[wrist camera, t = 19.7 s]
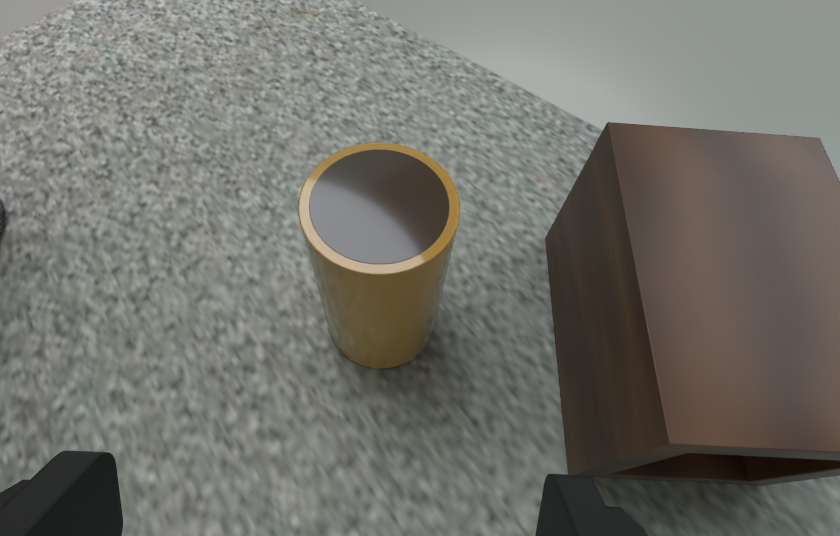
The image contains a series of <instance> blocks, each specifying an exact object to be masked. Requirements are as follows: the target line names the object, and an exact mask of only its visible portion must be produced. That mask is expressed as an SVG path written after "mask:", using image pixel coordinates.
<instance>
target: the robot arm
mask: <svg viewBox="0 0 840 536" xmlns="http://www.w3.org/2000/svg"><path fill="white" fill-rule="evenodd" d="M3 224H4V209H3V205H2V202H1V200H0V235H1V232H2V229H3ZM122 528H123V516H122V508H121V501H120V493H119V485H118V477H117V469H116V462H115V459H114V457H113V455H112V454H111V453H108V452H87V451H63V452H61V453H59V454H57V455H56V456H55V457H54V458H53V459H52V460H51V461H50V462H49V463H48V464H46V465H45V466H44V467H43V468H42V469H41V470H40V471H39V472H38V473H37V474H36V475H35V476H34V477H33V478H32V479H31V480H22V481H20V482H18V483H17V484H15V485H13V486H12V487H10V488H8V489H6V490H5V491H3V492H1V493H0V536H121V534H122ZM536 536H648V535H647V533H646V532H645V530H644V529H643V528H642V527H641V526H640V525H639V524H638V523H637V522H636V521H635V520H633V519H632V518H631V517H630V516H629V515H628V514H627V513H626V512H625V511H624V510H623V509H622V508H621V507H610V506H606V505H605V503H604V501H603V499H602V497H601V495H600V493H599V491H598V489H597V487H596V485H595V483H594V482H593V480H592V479H591V477H589V476H585V475H563V474H548V475H547V477H546V479H545V483H544V488H543V494H542V500H541V506H540V512H539V518H538V524H537V530H536Z"/></svg>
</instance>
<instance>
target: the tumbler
mask: <svg viewBox="0 0 840 536" xmlns="http://www.w3.org/2000/svg"><path fill="white" fill-rule="evenodd" d="M298 215H299V220H300V225H301V229H302V232H303V236H304V239H305V243H306V247H307V250H308V254H309V258H310V261H311V265H312V268H313V272H314V276H315V279H316V283H317V287H318V290H319V294H320V297H321V301H322V305H323V308H324V312H325V316H326V319H327V323H328V326H329V330H330V333H331V336H332V339H333V341H334V342H335V344H336V346H337V347H338V349H339V350H340V351H341V352H342V353H343V354H344V355H345V356H346V357H348V358H349V359H350V360H352V361H354V362H356V363H358V364H360V365H363V366H366V367H370V368H377V369H385V368H392V367H396V366H400V365H402V364H405V363H407V362H408V361H410V360H412V359H413V358H415V357H416V356H417V355H418V354H419V353H420V352H421V351H422V350H423V349H424V348H425V347H426V345H427V344H428V342H429V340H430V338H431V336H432V333H433V329H434V325H435V321H436V316H437V312H438V308H439V303H440V299H441V295H442V291H443V286H444V282H445V278H446V273H447V269H448V265H449V261H450V256H451V252H452V248H453V243H454V239H455V235H456V231H457V226H458V222H459V216H460V202H459V197H458V193H457V190H456V188H455V185H454V183H453V182H452V180H451V178H450V177H449V175H448V174H447V173H446V171H445V170H444V169H443V168H442V167H441V166H440V165H439V164H438V163H437V162H435V161H434V160H433V159H431V158H430V157H428V156H427V155H425V154H423V153H421V152H419V151H417V150H415V149H412V148H409V147H406V146H403V145H398V144H392V143H377V142H376V143H365V144H359V145H355V146H351V147H348V148H345V149H343V150H340V151H338V152H336V153H334V154H333V155H331V156H329V157H328V158H326V159H325V160H323V161H322V162H321V163H320V164H319V165H318V166H317V167H316V168H315V169H314V170H313V171H312V172H311V173H310V175H309V176H308V178H307V180H306V181H305V183H304V185H303V188H302V190H301V193H300V197H299V204H298Z"/></svg>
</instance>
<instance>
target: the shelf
mask: <svg viewBox="0 0 840 536" xmlns="http://www.w3.org/2000/svg"><path fill="white" fill-rule="evenodd" d="M546 249H547V259H548V269H549V280H550V290H551V300H552V310H553V321H554V331H555V341H556V351H557V362H558V372H559V382H560V392H561V403H562V413H563V423H564V434H565V444H566V454H567V464H568V474H569V475H585V476H589V477H599V478H618V479H639V480H660V481H681V482H701V483H722V484H744V485H770V484H778V483H786V482H793V481H801V480H809V479H817V478H825V477H832V476H840V181H839V179H838V177H837V175H836V173H835V170H834V168H833V166H832V164H831V162H830V160H829V157H828V155H827V153H826V151H825V149H824V147H823V144H822V142H821V140H820V138H813V137H799V136H786V135H773V134H758V133H746V132H745V133H744V132H733V131H718V130H706V129H692V128H679V127H664V126H652V125H651V126H650V125H637V124H624V123H610V122H608V123H607V124H606V126H605V128H604V130H603V131H602V133H601V135H600V137H599V139H598V141H597V143H596V146H595V147H594V149H593V151H592V152H591V154H590V156H589V158H588V160H587V162H586V164H585V165H584V167H583V169H582V171H581V173H580V175H579V177H578V178H577V180H576V182H575V184H574V186H573V188H572V190H571V191H570V193H569V195H568V197H567V199H566V201H565V202H564V204H563V206H562V208H561V210H560V212H559V214H558V215H557V217H556V219H555V221H554V223H553V225H552V227H551V228H550V230H549V232H548V234H547V236H546Z"/></svg>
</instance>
